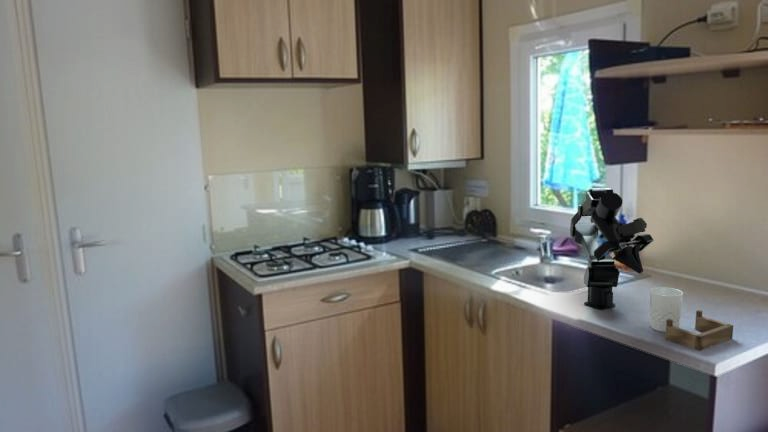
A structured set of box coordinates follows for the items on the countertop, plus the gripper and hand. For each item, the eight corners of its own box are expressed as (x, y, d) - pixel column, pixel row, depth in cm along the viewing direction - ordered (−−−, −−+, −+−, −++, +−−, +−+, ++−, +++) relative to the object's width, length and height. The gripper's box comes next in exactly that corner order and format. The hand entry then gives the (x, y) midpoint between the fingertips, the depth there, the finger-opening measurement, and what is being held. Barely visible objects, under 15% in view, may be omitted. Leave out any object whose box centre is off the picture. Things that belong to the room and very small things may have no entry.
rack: (665, 339, 148) (666, 320, 147) (697, 328, 155) (699, 309, 154) (699, 350, 140) (700, 330, 140) (732, 338, 147) (733, 319, 146)
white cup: (641, 326, 157) (643, 290, 155) (660, 320, 161) (661, 285, 159) (668, 335, 150) (670, 297, 149) (687, 329, 154) (689, 292, 153)
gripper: (603, 212, 157) (637, 261, 149) (649, 205, 166) (683, 250, 158) (579, 237, 165) (611, 284, 158) (624, 228, 174) (656, 273, 167)
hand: (641, 272), depth 160 cm, fingers closed
